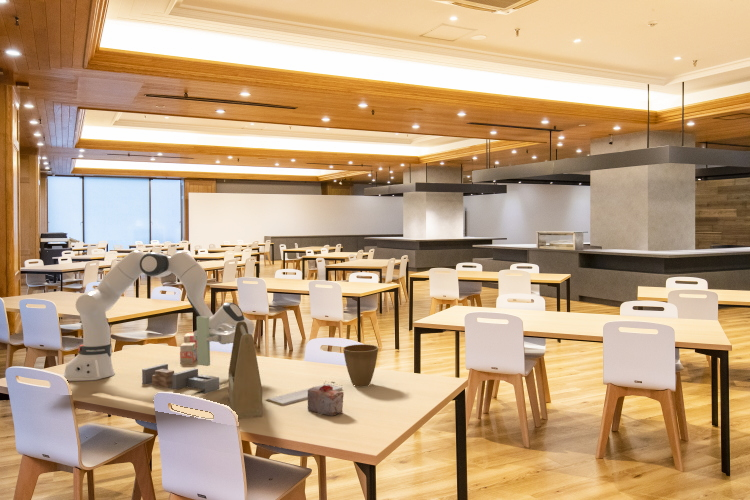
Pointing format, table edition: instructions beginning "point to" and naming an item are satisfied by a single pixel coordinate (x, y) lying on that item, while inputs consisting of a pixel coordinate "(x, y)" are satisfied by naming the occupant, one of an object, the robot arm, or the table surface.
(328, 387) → the food item
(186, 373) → the offcut rack
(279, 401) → the baseboard molding
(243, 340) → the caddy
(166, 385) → the offcut stack
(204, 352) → the tall panel
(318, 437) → the table surface
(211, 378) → the steel holder
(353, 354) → the plant pot
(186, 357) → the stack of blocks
